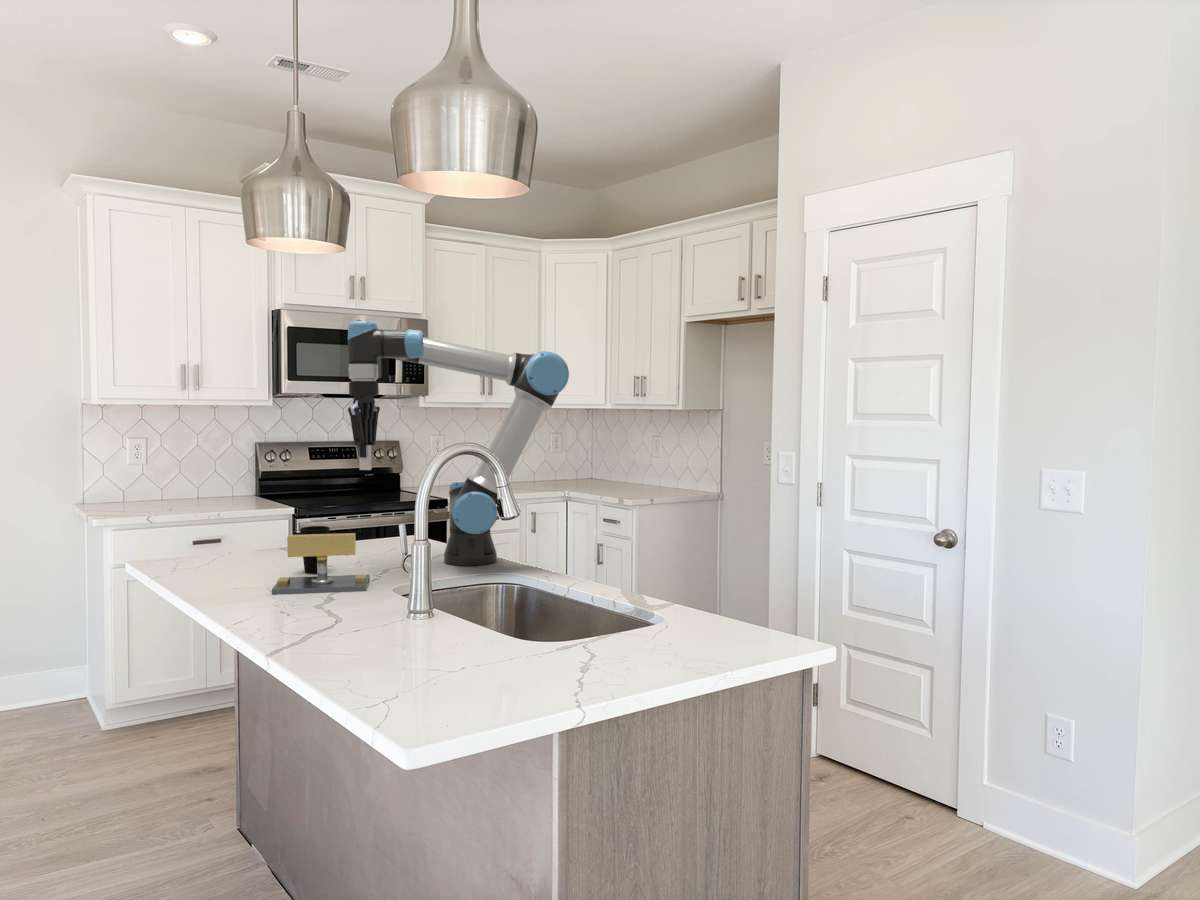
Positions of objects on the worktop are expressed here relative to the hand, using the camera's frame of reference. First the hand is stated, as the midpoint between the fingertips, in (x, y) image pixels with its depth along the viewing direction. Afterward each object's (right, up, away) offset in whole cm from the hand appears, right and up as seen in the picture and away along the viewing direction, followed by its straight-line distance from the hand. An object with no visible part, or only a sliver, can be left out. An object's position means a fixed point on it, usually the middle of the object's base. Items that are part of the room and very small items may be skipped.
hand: (365, 469), depth 234 cm
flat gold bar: (-7, -23, -13) cm, 27 cm away
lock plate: (-7, -29, -13) cm, 33 cm away
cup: (-15, -28, +5) cm, 32 cm away
